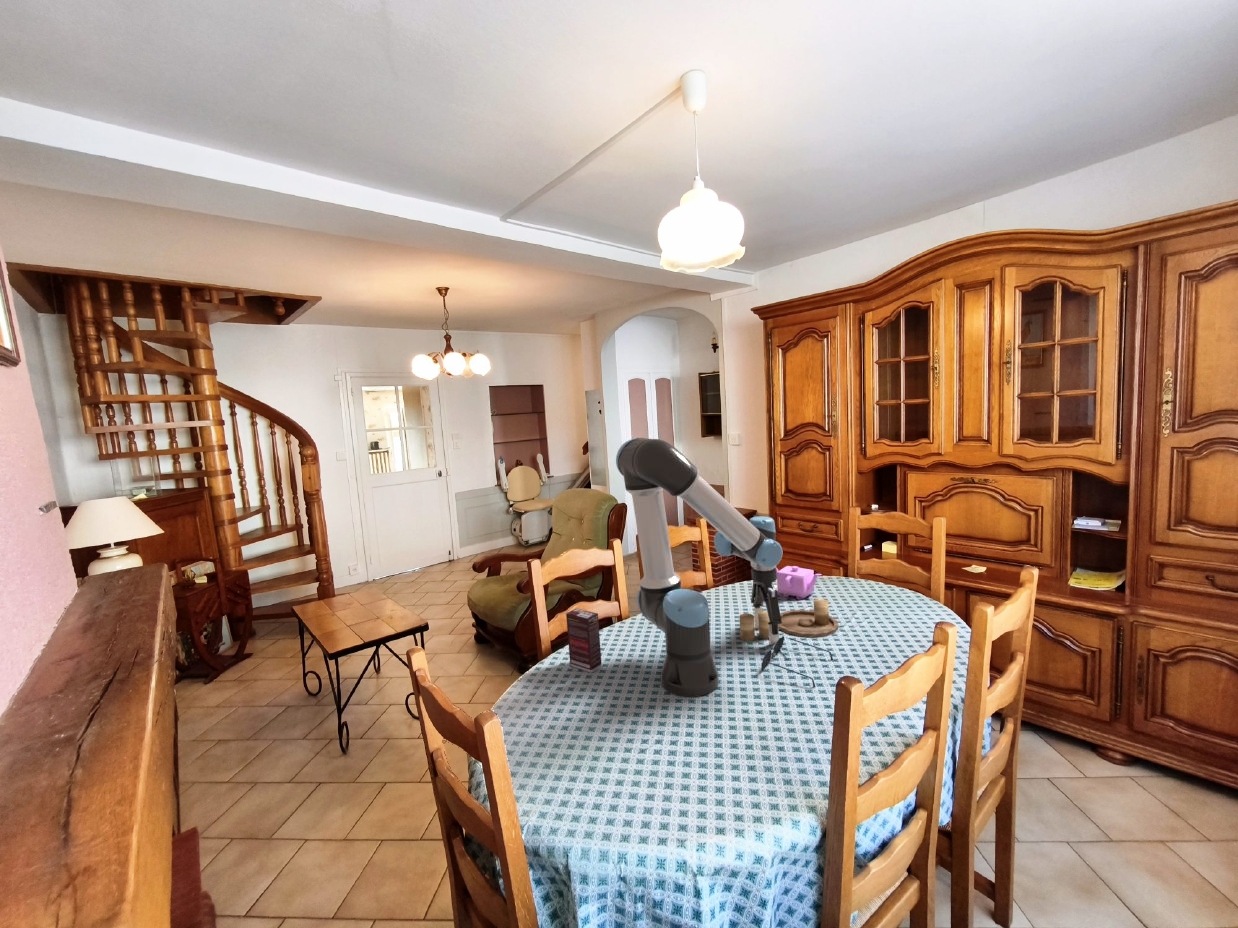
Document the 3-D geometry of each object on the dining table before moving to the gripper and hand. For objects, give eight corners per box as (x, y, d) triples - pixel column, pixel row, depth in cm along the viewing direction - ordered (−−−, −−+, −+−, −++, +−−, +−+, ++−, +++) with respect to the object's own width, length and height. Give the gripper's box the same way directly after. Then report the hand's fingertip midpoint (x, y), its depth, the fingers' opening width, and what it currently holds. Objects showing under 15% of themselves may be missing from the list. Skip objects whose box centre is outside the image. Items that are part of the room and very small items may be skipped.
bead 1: (757, 640, 162) (756, 618, 162) (743, 641, 162) (742, 619, 161) (752, 634, 167) (751, 612, 166) (738, 635, 166) (737, 614, 166)
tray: (850, 635, 161) (849, 629, 161) (789, 642, 159) (789, 635, 159) (820, 612, 180) (820, 607, 180) (766, 618, 178) (765, 612, 178)
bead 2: (775, 638, 163) (775, 616, 162) (762, 639, 162) (761, 617, 162) (770, 632, 167) (769, 610, 167) (756, 633, 167) (756, 612, 166)
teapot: (780, 602, 191) (779, 573, 190) (770, 590, 205) (769, 562, 204) (822, 600, 191) (822, 571, 190) (810, 588, 204) (809, 560, 203)
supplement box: (602, 666, 152) (599, 612, 150) (591, 673, 148) (587, 618, 146) (580, 659, 157) (576, 607, 156) (569, 665, 153) (565, 612, 152)
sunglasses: (781, 649, 156) (782, 633, 155) (832, 667, 148) (834, 650, 147) (759, 675, 142) (760, 658, 141) (814, 696, 134) (816, 678, 133)
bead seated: (831, 624, 168) (831, 603, 167) (818, 625, 168) (817, 604, 167) (824, 619, 172) (824, 598, 172) (811, 620, 172) (811, 599, 171)
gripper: (792, 577, 151) (794, 650, 153) (761, 555, 175) (763, 619, 177) (766, 580, 150) (769, 653, 153) (739, 557, 174) (742, 621, 176)
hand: (766, 635), depth 165 cm, fingers open, 12 cm apart
